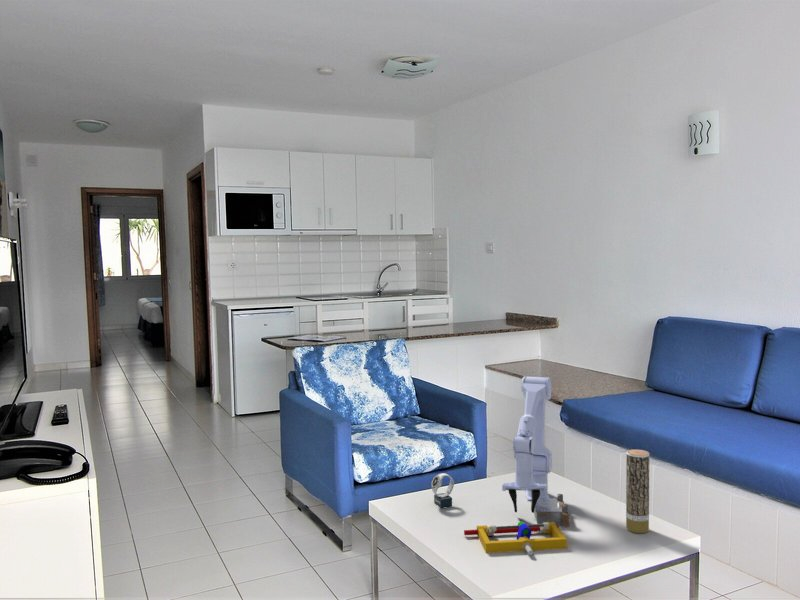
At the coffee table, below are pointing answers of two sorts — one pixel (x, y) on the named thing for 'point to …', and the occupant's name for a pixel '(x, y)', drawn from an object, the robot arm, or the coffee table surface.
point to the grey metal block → (548, 511)
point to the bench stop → (563, 511)
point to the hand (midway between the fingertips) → (524, 511)
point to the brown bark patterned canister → (637, 491)
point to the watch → (442, 498)
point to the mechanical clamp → (520, 537)
